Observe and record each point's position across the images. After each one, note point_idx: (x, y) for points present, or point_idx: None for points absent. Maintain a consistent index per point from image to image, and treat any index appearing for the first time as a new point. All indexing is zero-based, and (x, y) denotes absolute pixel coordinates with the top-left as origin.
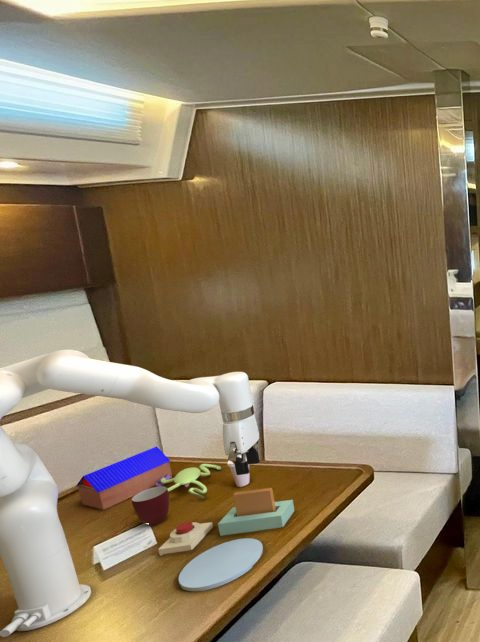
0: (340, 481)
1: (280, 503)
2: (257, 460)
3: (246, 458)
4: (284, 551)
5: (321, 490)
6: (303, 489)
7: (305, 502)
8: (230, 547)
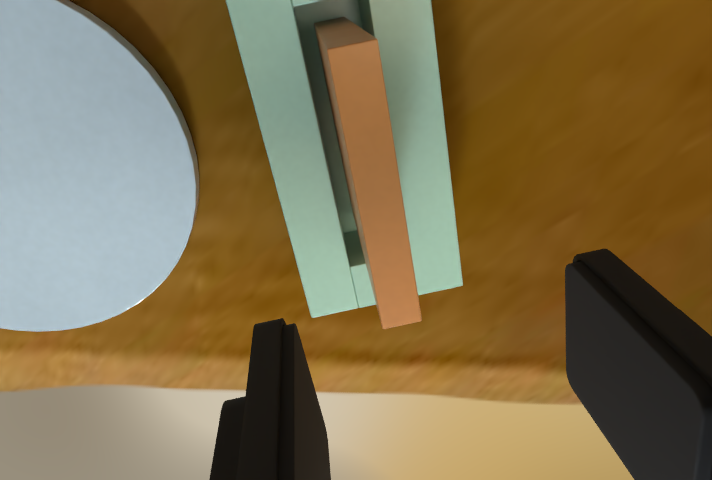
0: None
1: (430, 241)
2: (590, 408)
3: (628, 319)
4: (154, 378)
5: None
6: (659, 161)
7: (520, 250)
8: (110, 139)
